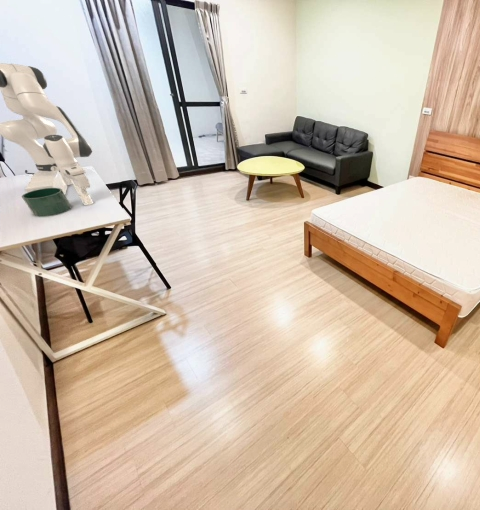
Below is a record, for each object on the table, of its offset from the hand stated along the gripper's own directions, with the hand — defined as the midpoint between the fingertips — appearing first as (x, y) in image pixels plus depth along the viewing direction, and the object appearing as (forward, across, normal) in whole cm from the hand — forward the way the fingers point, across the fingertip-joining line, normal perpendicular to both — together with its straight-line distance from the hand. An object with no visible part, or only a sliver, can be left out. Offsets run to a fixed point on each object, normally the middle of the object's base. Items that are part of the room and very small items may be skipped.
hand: (82, 192), depth 151 cm
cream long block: (+7, -28, -6) cm, 30 cm away
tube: (+7, 0, 0) cm, 7 cm away
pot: (+7, -5, -14) cm, 17 cm away
